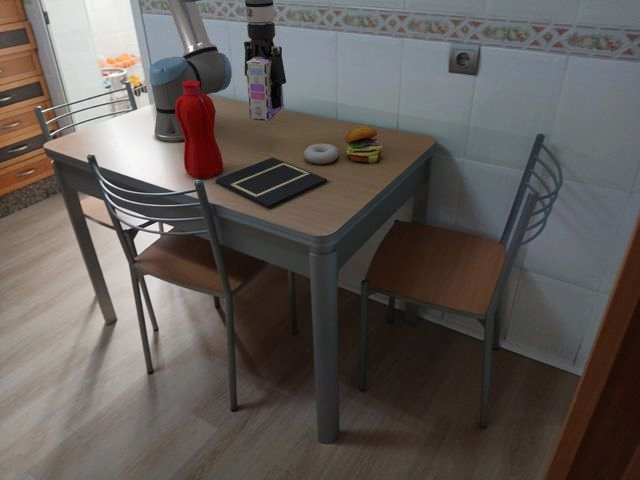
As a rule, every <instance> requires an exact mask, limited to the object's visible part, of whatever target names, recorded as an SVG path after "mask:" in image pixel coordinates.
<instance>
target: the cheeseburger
mask: <svg viewBox="0 0 640 480" xmlns="http://www.w3.org/2000/svg"><path fill="white" fill-rule="evenodd" d="M377 135H378V133H377V131H376V129H375V128H374V127H369V126H361V127H358V128H354V129H352V130H351V131H348V133H347V134H346V135H345V141H344V142H345V143H346V144H347V149H346V154H347V156H348V157H349V159H350V160H351V161H355V162H362V163H369V164H374V163H377V161H378V159H380V157H381V155H382V151H383V146H382V144H381V143H380V142H379V141H378V140H379V138H378V137H377Z"/></svg>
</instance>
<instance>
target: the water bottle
mask: <svg viewBox="0 0 640 480" xmlns="http://www.w3.org/2000/svg"><path fill="white" fill-rule="evenodd" d="M182 85H183V90H184V94H183V95H182V96H180V97H179V98H178V99H177V101H176V105H175V113H176V117H177V120H178V122H179V124H180V127H181V129H182V131H183V134H184V139H185V141H184V148H183V164H184V169H185V171H186V173H187V174H188V175H189V176H192V177H194V178H197V179H202V180H203V179H208V178H210V177H212V176H215V175H217V174H220V173H221V172H222V171H223V169H224V161H223V156H222V152H221V150H220V148H219V145H218V142H217V139H216V137H215V136H216V135H215V124H216V123H215V121H216V112H217V111H216V107H215V104H214V102H213V99H212V98H211V96H209V95H208V94H207V95H206V94H204V93H202V92H201V89H200V82H199V81H196V80H191V81H186V82H183V83H182Z"/></svg>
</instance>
